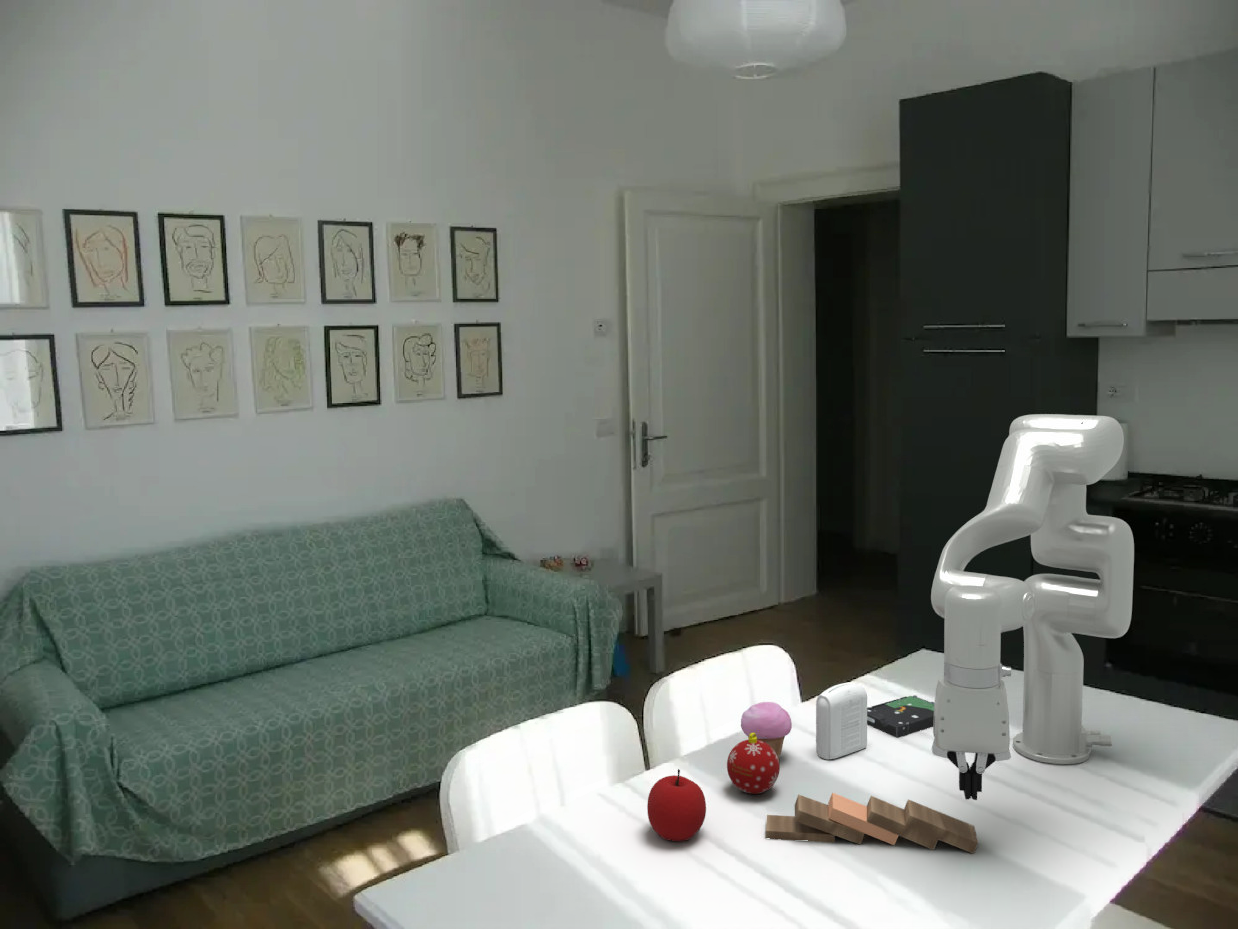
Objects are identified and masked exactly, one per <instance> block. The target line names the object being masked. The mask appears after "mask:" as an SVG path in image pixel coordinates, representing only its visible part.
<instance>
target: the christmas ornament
mask: <svg viewBox="0 0 1238 929" xmlns="http://www.w3.org/2000/svg"><path fill="white" fill-rule="evenodd" d="M753 734H754V736H752V735H753ZM726 769H727V770H726V771H727V773H728V774H727V775H728V777H729V779H730V781H731V783H732V784H733V786H735V787H736V788H737V789H739V790H740V791H742V792H744V793H747V794H750V795H752V794H753V795H758V794H762V793H764V792H767V791H769V790H770V789H771V788H772V787H773V786H774V785H775V784H776V782H777V780H778V778H779V775H780V760H779V759H778V757H777V755H776V753H775V751H774V750H773V749H772V748H771V747H770V746H769V745H768V744H767V743H765V742H763V741H760V740H757V737H756V734H755V733H750V735H749V738H748V739H745V740H742V741H740V742H738V743H737V744H736V745H735V746H734V747H732V749H731V750H730V752H729V754H728V756H727V760H726Z"/></svg>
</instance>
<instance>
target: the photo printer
mask: <svg viewBox="0 0 1238 929" xmlns="http://www.w3.org/2000/svg"><path fill="white" fill-rule="evenodd" d="M867 693H868V692H867V691H866V688H865V687H864V686H863V685H862V684H859V683H855V682H844V683H838V684H836V685H833V686H831V687H829V688H827V689H825V690H824V691H822V693H820V694H819V695H818V696H817V698H816V701H815V703H816V704H815V706H816V707H815V716H816V718H815V733H816V734H815V746H816V747H815V750H816V753H817V755H818V757H819V758H822V759H824V760H828V761H829V760H832V759H838V758H841V757H844V756H846V755H850V754H852V753H854V752H858V751H860V750H864V749H865V748H867V745H868V725H867V708H868V694H867Z"/></svg>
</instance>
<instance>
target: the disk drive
mask: <svg viewBox="0 0 1238 929" xmlns="http://www.w3.org/2000/svg"><path fill="white" fill-rule="evenodd" d="M934 703H935V701H929V700H926V699H923V698H921V697H918V695H917V694H916V695H909V696H903V697H900V698H895V699H893V700H889V701H886V702H882V703H880V704H876V705H871V706H869V707H868V706H867V726H870V727H871V728H874V729H877V730H878V731H881V732H883V733H884V734H887V735H889V736H891V737H894V738H896V739H900V738H902V737H905V736H908V735H911V734H914V733H917V732H921V731H923V730H924V731H925V730H927V728H928V729H930V727H931V728H933V718H934ZM920 730H921V731H920Z"/></svg>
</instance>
